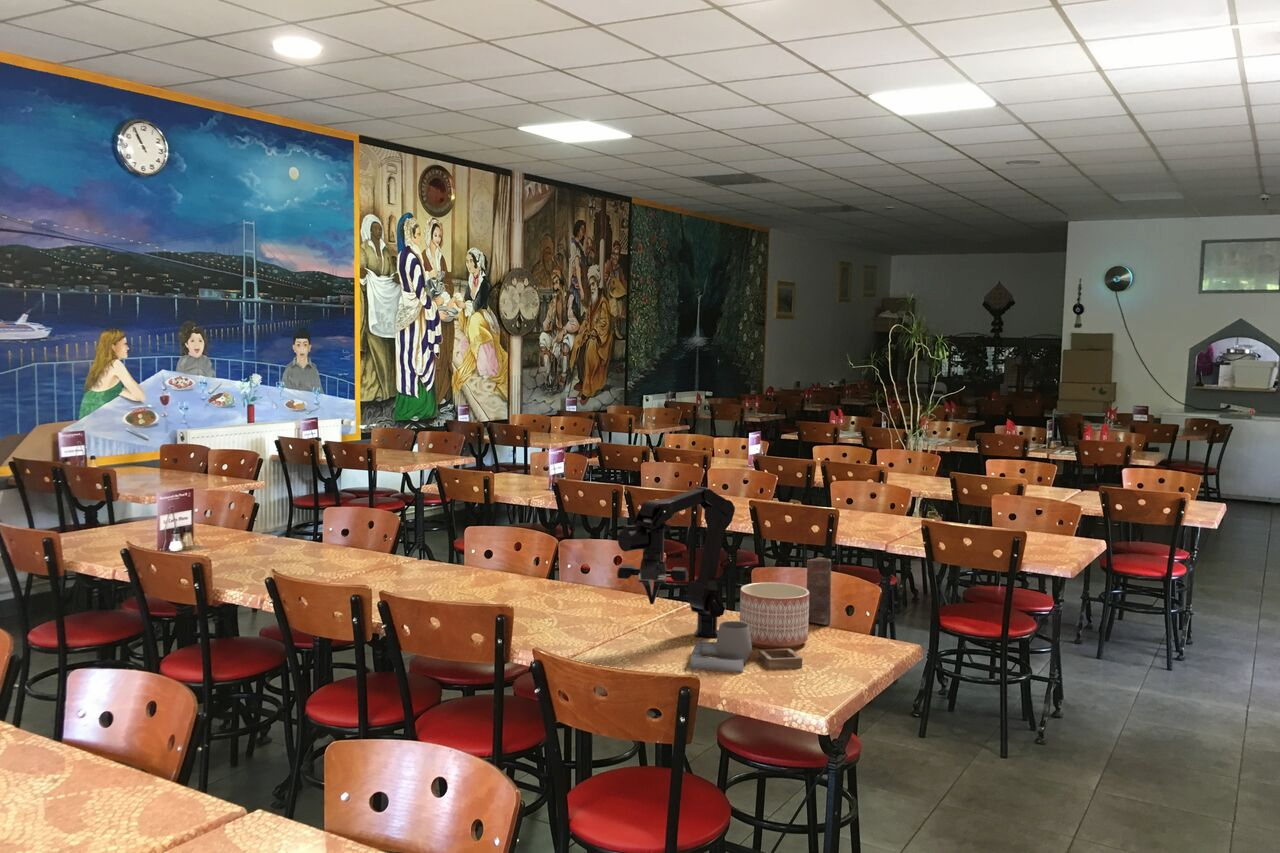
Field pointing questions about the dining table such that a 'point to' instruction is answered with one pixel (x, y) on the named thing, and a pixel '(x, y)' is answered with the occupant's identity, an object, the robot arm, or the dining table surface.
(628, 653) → the dining table surface
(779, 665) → the square wooden tray
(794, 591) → the planter
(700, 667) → the grey square frame
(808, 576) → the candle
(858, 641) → the dining table surface
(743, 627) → the cup
